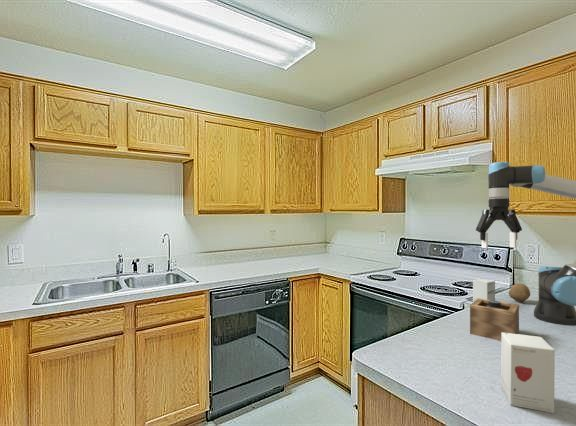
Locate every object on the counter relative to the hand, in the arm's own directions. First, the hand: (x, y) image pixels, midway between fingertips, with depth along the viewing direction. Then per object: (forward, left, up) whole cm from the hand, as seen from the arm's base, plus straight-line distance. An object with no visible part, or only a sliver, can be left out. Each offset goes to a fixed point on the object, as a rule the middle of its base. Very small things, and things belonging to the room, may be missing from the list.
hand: (498, 247), depth 138 cm
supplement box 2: (-15, +64, -32) cm, 73 cm away
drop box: (-1, +17, -32) cm, 36 cm away
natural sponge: (-3, -42, -32) cm, 53 cm away
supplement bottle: (-1, +17, -31) cm, 35 cm away
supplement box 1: (+10, -24, -32) cm, 41 cm away
